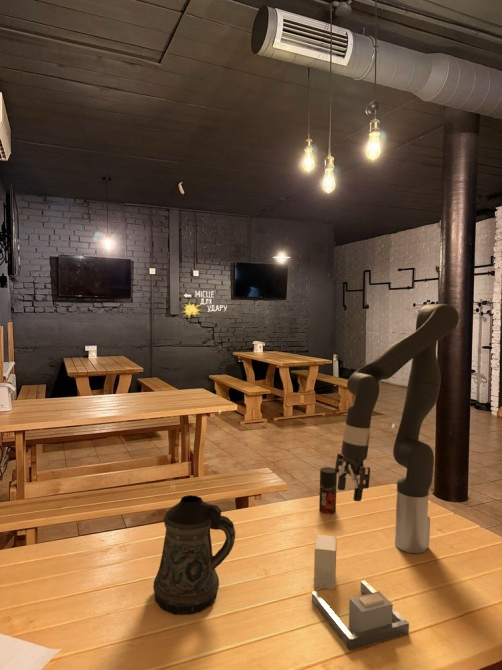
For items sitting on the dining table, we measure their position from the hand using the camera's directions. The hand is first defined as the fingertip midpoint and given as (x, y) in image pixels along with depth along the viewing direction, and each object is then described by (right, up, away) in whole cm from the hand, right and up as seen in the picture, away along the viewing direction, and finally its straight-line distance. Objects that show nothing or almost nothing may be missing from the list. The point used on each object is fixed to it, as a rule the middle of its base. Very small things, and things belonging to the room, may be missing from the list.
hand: (348, 495), depth 135 cm
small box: (-9, -19, -12) cm, 24 cm away
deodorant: (-1, -16, +30) cm, 34 cm away
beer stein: (-44, -19, -19) cm, 51 cm away
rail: (-4, -20, -26) cm, 33 cm away
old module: (-2, -20, -31) cm, 37 cm away
